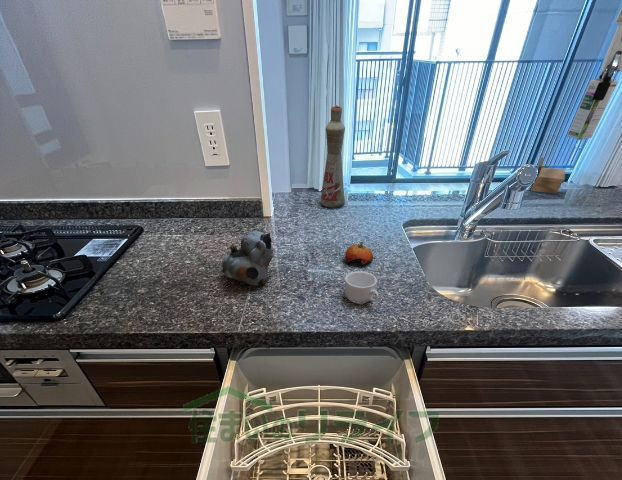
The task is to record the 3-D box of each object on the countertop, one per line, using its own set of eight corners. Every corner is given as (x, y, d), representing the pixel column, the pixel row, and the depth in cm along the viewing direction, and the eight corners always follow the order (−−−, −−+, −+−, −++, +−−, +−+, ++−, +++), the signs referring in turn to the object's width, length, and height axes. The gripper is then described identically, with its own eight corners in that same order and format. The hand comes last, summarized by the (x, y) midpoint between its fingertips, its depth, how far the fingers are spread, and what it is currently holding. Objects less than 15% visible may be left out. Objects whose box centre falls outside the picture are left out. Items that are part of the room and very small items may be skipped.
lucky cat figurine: (220, 269, 102) (232, 216, 96) (261, 283, 106) (276, 232, 100) (219, 280, 89) (233, 220, 83) (266, 295, 93) (283, 239, 87)
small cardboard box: (558, 184, 145) (569, 160, 139) (557, 194, 138) (569, 169, 131) (531, 181, 148) (541, 157, 141) (529, 190, 141) (539, 166, 134)
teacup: (337, 298, 92) (338, 278, 88) (359, 287, 95) (361, 268, 91) (365, 315, 87) (367, 295, 83) (387, 304, 90) (390, 283, 86)
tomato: (381, 258, 102) (366, 241, 97) (364, 279, 104) (349, 263, 99) (366, 251, 108) (352, 234, 103) (351, 270, 109) (336, 255, 105)
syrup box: (565, 136, 125) (589, 79, 114) (578, 134, 127) (602, 78, 116) (579, 140, 122) (605, 82, 111) (592, 138, 123) (619, 80, 112)
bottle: (349, 206, 132) (356, 106, 111) (327, 210, 129) (329, 109, 108) (337, 198, 137) (342, 101, 116) (316, 202, 134) (316, 104, 113)
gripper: (652, 18, 97) (611, 103, 110) (644, 15, 107) (607, 93, 121) (620, 17, 99) (584, 101, 112) (615, 15, 109) (582, 92, 123)
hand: (596, 97), depth 116 cm, fingers closed on syrup box, 8 cm apart
